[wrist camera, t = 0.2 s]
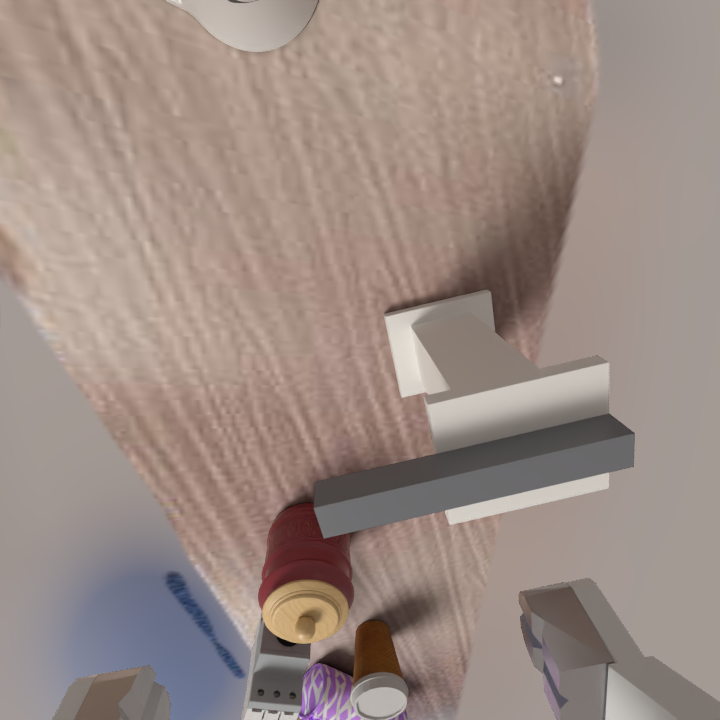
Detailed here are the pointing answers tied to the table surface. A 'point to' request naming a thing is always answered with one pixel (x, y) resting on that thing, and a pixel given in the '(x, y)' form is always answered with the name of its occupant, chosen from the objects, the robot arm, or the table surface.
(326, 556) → the canister
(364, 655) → the disposable coffee cup
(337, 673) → the pencil case
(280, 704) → the circuit breaker
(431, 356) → the stand
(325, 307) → the table surface
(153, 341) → the table surface
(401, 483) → the bar
